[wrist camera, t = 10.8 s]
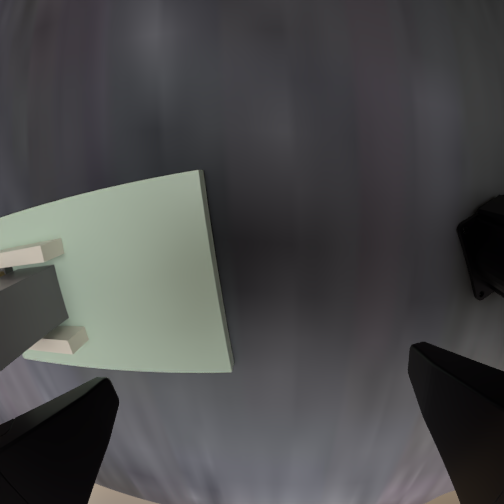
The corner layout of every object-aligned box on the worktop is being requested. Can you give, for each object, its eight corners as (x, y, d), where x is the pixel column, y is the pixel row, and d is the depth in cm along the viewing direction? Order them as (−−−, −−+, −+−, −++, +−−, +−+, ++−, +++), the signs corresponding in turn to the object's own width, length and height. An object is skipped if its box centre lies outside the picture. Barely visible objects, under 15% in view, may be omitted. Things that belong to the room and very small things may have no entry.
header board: (203, 170, 19) (177, 169, 14) (234, 363, 23) (222, 407, 18) (-8, 220, 22) (-46, 231, 17) (30, 353, 25) (1, 377, 20)
